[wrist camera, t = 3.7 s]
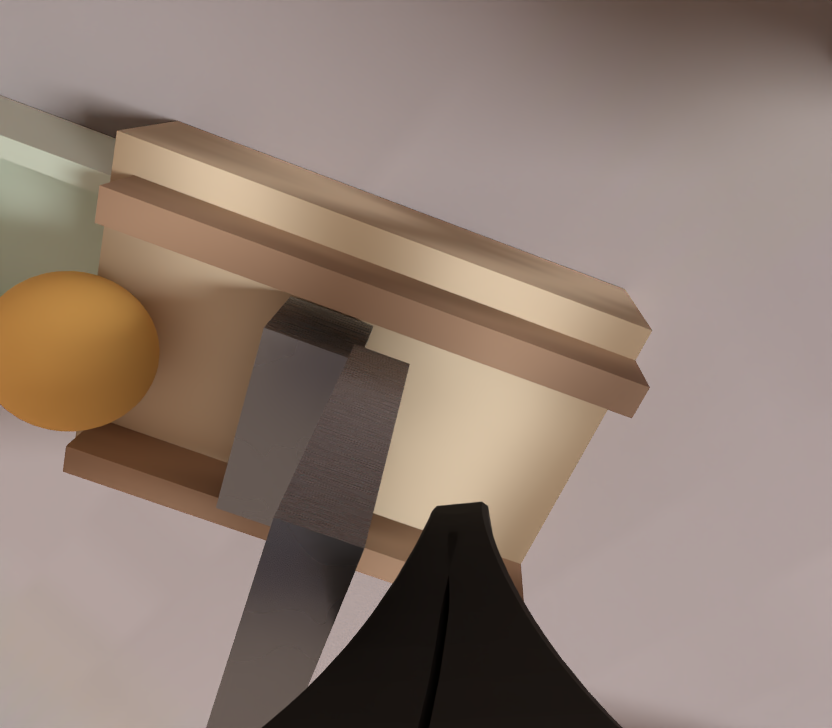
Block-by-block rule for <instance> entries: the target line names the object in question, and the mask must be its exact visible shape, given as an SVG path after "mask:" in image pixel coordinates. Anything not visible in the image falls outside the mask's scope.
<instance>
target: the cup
mask: <svg viewBox="0 0 832 728" xmlns="http://www.w3.org/2000/svg"><path fill="white" fill-rule="evenodd" d="M115 141H116V138H113V137H110V136H108V135H105V134H102V133H100V132H97V131H94V130H91V129H89V128H86V127H83V126H81V125H78V124H75V123H73V122H70V121H67V120H65V119H62V118H59V117H57V116H54V115H51V114H49V113H46V112H43V111H40V110H38V109H35V108H32V107H30V106H27V105H24V104H22V103H19V102H16V101H14V100H11V99H8V98H6V97H3V96H0V297H1V296H2V295H3V294H4V293H5V292H7V291H8V290H9V289H11V288H12V287H14V286H15V285H17V284H19V283H20V282H22V281H25V280H27V279H29V278H31V277H34V276H37V275H41V274H45V273H50V272H56V271H78V272H85V273H90V274H94V275H98V268H99V260H100V253H101V245H102V238H103V230H104V226H102V225H99V224H97V223H95V216H96V208H97V200H98V193H99V185H102V184H105V183H109V182H110V178H111V171H112V164H113V156H114V149H115Z"/></svg>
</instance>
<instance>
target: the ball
mask: <svg viewBox="0 0 832 728" xmlns="http://www.w3.org/2000/svg"><path fill="white" fill-rule="evenodd" d="M159 354H160V349H159V339H158V335H157V331H156V328H155V325H154V323H153V321H152V319H151V317H150V315H149V314H148V312H147V311H146V309H145V308H144V306H143V305H142V304H141V303H140V301H139V300H138V299H137V298H136V297H134V296H133V295H132V294H131V293H130V292H129V291H127V290H126V289H125V288H123V287H121V286H120V285H118V284H116V283H115V282H113V281H111V280H108V279H106V278H103V277H101V276H98V275H94V274H90V273H85V272H78V271H56V272H50V273H45V274H41V275H37V276H34V277H31V278H29V279H27V280H25V281H22V282H20V283H19V284H17V285H15V286H14V287H12V288H11V289H9V290H8V291H7V292H5V293H4V294H3V295H2V296H1V297H0V404H1V405H2V406H3V407H4V408H5V409H6V410H7V411H9V412H10V413H12V414H13V415H15V416H16V417H18V418H19V419H21V420H23V421H25V422H27V423H30V424H32V425H35V426H38V427H41V428H45V429H50V430H56V431H82V430H88V429H93V428H96V427H100V426H103V425H106V424H108V423H111V422H113V421H115V420H117V419H118V418H120V417H122V416H124V415H125V414H126V413H128V412H129V411H130V410H131V409H133V408H134V407H135V406H136V405H137V404H138V403H139V402H140V401H141V400H142V398H143V397H144V396H145V395H146V393H147V391H148V390H149V388H150V387H151V385H152V383H153V380H154V378H155V375H156V373H157V369H158V363H159Z"/></svg>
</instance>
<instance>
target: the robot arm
mask: <svg viewBox="0 0 832 728" xmlns="http://www.w3.org/2000/svg"><path fill="white" fill-rule="evenodd" d="M261 728H622V727H621V726H620V725H619V724H618V723H617V722H616V721H615V720H614V719H613V718H612V717H611V716H610V715H609V714H608V712H607V711H606V710H605V709H604V708H603V707H602V706H601V705H600V704H599V703H598V701H597V700H596V699H595V698H594V697H593V696H592V695H591V694H590V693H589V692H588V690H587V689H586V688H585V687H584V686H583V684H582V683H581V682H580V681H579V679H578V678H577V677H576V676H575V674H574V673H573V672H572V671H571V670H570V668H569V667H568V666H567V665H566V663H565V662H564V661H563V660H562V659H561V657H560V656H559V655H558V653H557V652H556V650H555V649H554V648H553V646H552V645H551V643H550V642H549V641H548V639H547V638H546V636H545V635H544V633H543V632H542V630H541V629H540V627H539V626H538V624H537V623H536V621H535V620H534V618H533V616H532V615H531V613H530V612H529V610H528V608H527V607H526V605H525V603H524V601H523V600H522V598H521V596H520V594H519V592H518V590H517V589H516V587H515V585H514V583H513V581H512V579H511V577H510V575H509V573H508V571H507V569H506V566H505V564H504V562H503V560H502V557H501V555H500V553H499V550H498V548H497V545H496V542H495V539H494V536H493V532H492V526H491V520H490V514H489V508H488V505H486V504H485V503H483V502H472V503H461V504H451V505H441V506H436V507H435V508H434V509H433V510H432V512H431V514H430V517H429V519H428V521H427V523H426V525H425V527H424V529H423V531H422V533H421V535H420V537H419V539H418V541H417V543H416V545H415V546H414V548H413V550H412V552H411V554H410V555H409V557H408V559H407V560H406V562H405V564H404V566H403V567H402V569H401V571H400V572H399V574H398V576H397V577H396V579H395V581H394V582H393V584H392V585H391V587H390V588H389V590H388V591H387V593H386V594H385V596H384V597H383V598H382V600H381V601H380V603H379V604H378V606H377V607H376V609H375V610H374V612H373V613H372V614H371V616H370V617H369V618H368V620H367V621H366V622H365V624H364V625H363V626H362V627H361V629H360V630H359V631H358V632H357V634H356V635H355V636H354V637H353V639H352V640H351V641H350V642H349V643H348V645H347V646H346V647H345V648H344V649H343V650H342V651H341V653H340V654H339V655H338V656H337V657H336V658H335V659H334V660H333V661H332V662H331V664H330V665H329V666H328V667H327V668H326V669H325V670H324V671H323V672H322V673H321V674H320V675H319V676H318V677H317V678H316V679H315V680H314V681H313V682H312V683H311V684H310V685H309V686H308V687H307V688H306V689H305V690H304V691H303V692H302V693H301V694H300V695H299V696H298V697H296V698H295V699H294V700H293V701H292V702H291V703H290V704H289V705H288V706H286V707H285V708H284V709H283V710H282V711H281V712H279V713H278V714H277V715H276V716H275V717H274V718H273V719H271V720H270V721H269V722H268V723H266V724H265V725H264V726H263V727H261Z"/></svg>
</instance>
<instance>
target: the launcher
mask: <svg viewBox="0 0 832 728" xmlns="http://www.w3.org/2000/svg"><path fill="white" fill-rule="evenodd" d="M95 223H97V224H99V225H102V226H104V230H103V238H102V245H101V253H100V260H99V268H98V276H101V277H103V278H106V279H108V280H111V281H113V282H115V283H116V284H118V285H120V286H121V287H123V288H125V289H126V290H127V291H129V292H130V293H131V294H132V295H133V296H134V297H136V298H137V299H138V300H139V301H140V303H141V304H142V305H143V306H144V308H145V309H146V311H147V312H148V314H149V315H150V317H151V319H152V321H153V323H154V325H155V328H156V331H157V335H158V339H159V349H160V354H159V363H158V369H157V373H156V375H155V378H154V380H153V383H152V385H151V387H150V388H149V390H148V391H147V393H146V395H145V396H144V397H143V398H142V400H141V401H140V402H139V403H138V404H137V405H136V406H135V407H134V408H133V409H131V410H130V411H129V412H128V413H126V414H125V415H124V416H122V417H120V418H118V419H117V420H115V421H113V422H111V423H108V424H106V425H103V426H100V427H96V428H93V429H88V430H82V431H76V438H75V439H74V440H72V441H71V442H70V443H69V444H68V445H67V446H66V452H65V459H64V467H63V472H66V473H69V474H72V475H75V476H78V477H81V478H84V479H87V480H90V481H93V482H95V483H98V484H101V485H104V486H107V487H110V488H113V489H116V490H119V491H122V492H125V493H128V494H131V495H134V496H137V497H140V498H143V499H146V500H149V501H151V502H154V503H157V504H160V505H163V506H166V507H169V508H172V509H175V510H178V511H181V512H184V513H187V514H190V515H193V516H196V517H199V518H202V519H205V520H207V521H210V522H213V523H216V524H219V525H222V526H225V527H228V528H231V529H234V530H237V531H240V532H243V533H246V534H249V535H252V536H255V537H258V538H261V539H263V540H266V539H267V536H268V533H269V530H270V526H268V525H265V524H262V523H259V522H256V521H253V520H250V519H247V518H244V517H241V516H238V515H235V514H232V513H229V512H226V511H223V510H221V509H218V508H216V505H217V502H218V498H219V494H220V490H221V487H222V483H223V479H224V475H225V472H226V468H227V464H228V460H229V456H230V453H231V449H232V445H233V441H234V438H235V434H236V430H237V426H238V423H239V419H240V415H241V411H242V408H243V404H244V400H245V396H246V393H247V389H248V385H249V381H250V378H251V374H252V370H253V366H254V363H255V359H256V355H257V351H258V348H259V344H260V340H261V336H262V333H263V329H264V327H265V326H266V324H267V323H268V322H269V321H270V320H271V319H272V317H273V316H274V315H275V314H276V313H277V312H278V310H279V309H280V308H281V307H282V306H283V305H284V303H285V302H286V301H287V300H288V299H289V297H290V296H293V297H296V298H298V299H301V300H304V301H307V302H309V303H312V304H315V305H318V306H320V307H323V308H326V309H329V310H331V311H334V312H337V313H340V314H342V315H345V316H348V317H351V318H353V319H356V320H359V321H362V322H364V323H367V324H370V325H373V329H372V332H371V335H370V338H369V341H368V344H367V346H366V348H367V349H370V350H373V351H375V352H378V353H381V354H384V355H387V356H389V357H392V358H395V359H398V360H400V361H403V362H406V363H409V364H410V365H409V369H408V374H407V378H406V382H405V386H404V390H403V394H402V398H401V402H400V406H399V410H398V414H397V418H396V422H395V426H394V430H393V435H392V439H391V443H390V447H389V451H388V455H387V459H386V463H385V467H384V471H383V475H382V479H381V483H380V487H379V491H378V496H377V500H376V504H375V508H374V512H373V516H372V520H371V524H370V528H369V532H368V536H367V540H366V544H365V548H364V551H363V553H362V556H361V558H360V561H359V563H358V565H357V568H356V570H355V571H358V572H361V573H364V574H367V575H370V576H373V577H376V578H378V579H381V580H384V581H387V582H390V583H393V582H394V581H395V579H396V577H397V576H398V574H399V572H400V571H401V569H402V567H403V566H404V564H405V562H406V560H407V559H408V557H409V555H410V554H411V552H412V550H413V548H414V546H415V545H416V543H417V541H418V539H419V537H420V535H421V533H422V531H423V529H424V527H425V525H426V523H427V521H428V519H429V517H430V514H431V512H432V510H433V509H434V508H435V507H436V506H441V505H451V504H461V503H472V502H483V503H485V504H486V505H488V508H489V514H490V520H491V526H492V532H493V536H494V539H495V542H496V545H497V548H498V550H499V553H500V555H501V557H502V560H503V562H504V564H505V566H506V569H507V571H508V573H509V575H510V577H511V579H512V581H513V583H514V585H515V587H516V589H517V590H518V592H519V594H520V596H521V598H522V600H523V601H524V599H523V586H522V574H521V563H522V561H523V559H524V557H525V556H526V554H527V552H528V550H529V548H530V547H531V545H532V543H533V541H534V540H535V538H536V536H537V534H538V532H539V531H540V529H541V527H542V525H543V524H544V522H545V520H546V518H547V516H548V515H549V513H550V511H551V509H552V508H553V506H554V504H555V502H556V500H557V499H558V497H559V495H560V493H561V492H562V490H563V488H564V486H565V484H566V483H567V481H568V479H569V477H570V476H571V474H572V472H573V470H574V468H575V467H576V465H577V463H578V461H579V460H580V458H581V456H582V454H583V452H584V451H585V449H586V447H587V445H588V444H589V442H590V440H591V438H592V436H593V435H594V433H595V431H596V429H597V428H598V426H599V424H600V422H601V420H602V419H603V417H604V415H605V413H606V412H607V410H610V411H613V412H616V413H619V414H621V415H624V416H627V417H630V418H632V417H633V415H634V414H635V412H636V410H637V408H638V407H639V405H640V403H641V402H642V400H643V398H644V397H645V395H646V393H647V391H648V390H649V388H650V387H649V385H648V383H647V382H646V380H645V378H644V376H643V374H642V372H641V370H640V368H639V367H638V365H637V363H636V361H635V360H636V358H637V356H638V355H639V353H640V351H641V349H642V348H643V346H644V344H645V342H646V340H647V339H648V337H649V335H650V333H651V332H652V330H651V328H650V327H649V325H648V323H647V322H646V320H645V319H644V317H643V316H642V314H641V313H640V311H639V310H638V308H637V307H636V305H635V304H634V302H633V301H632V299H631V298H630V296H629V295H628V293H627V292H626V290H625V289H622V288H620V287H617V286H614V285H612V284H609V283H606V282H604V281H601V280H598V279H596V278H593V277H590V276H588V275H585V274H583V273H580V272H577V271H575V270H572V269H569V268H567V267H564V266H561V265H559V264H556V263H553V262H551V261H548V260H545V259H543V258H540V257H537V256H535V255H532V254H529V253H527V252H524V251H521V250H519V249H516V248H513V247H511V246H508V245H506V244H503V243H500V242H498V241H495V240H492V239H490V238H487V237H484V236H482V235H479V234H476V233H474V232H471V231H468V230H466V229H463V228H460V227H458V226H455V225H452V224H450V223H447V222H444V221H442V220H439V219H436V218H434V217H431V216H429V215H426V214H423V213H421V212H418V211H415V210H413V209H410V208H407V207H405V206H402V205H399V204H397V203H394V202H391V201H389V200H386V199H383V198H381V197H378V196H375V195H373V194H370V193H367V192H365V191H362V190H359V189H357V188H354V187H352V186H349V185H346V184H344V183H341V182H338V181H336V180H333V179H330V178H328V177H325V176H322V175H320V174H317V173H314V172H312V171H309V170H306V169H304V168H301V167H298V166H296V165H293V164H290V163H288V162H285V161H283V160H280V159H277V158H275V157H272V156H269V155H267V154H264V153H261V152H259V151H256V150H253V149H251V148H248V147H245V146H243V145H240V144H237V143H235V142H232V141H229V140H227V139H224V138H221V137H219V136H216V135H213V134H211V133H208V132H206V131H203V130H200V129H198V128H195V127H192V126H190V125H187V124H184V123H182V122H179V121H174V122H168V123H161V124H155V125H149V126H142V127H136V128H130V129H123V130H117V134H116V141H115V149H114V156H113V164H112V171H111V178H110V182H109V183H105V184H102V185H99V193H98V200H97V208H96V216H95Z"/></svg>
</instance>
